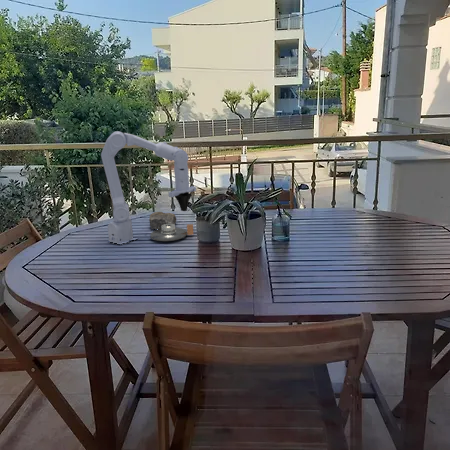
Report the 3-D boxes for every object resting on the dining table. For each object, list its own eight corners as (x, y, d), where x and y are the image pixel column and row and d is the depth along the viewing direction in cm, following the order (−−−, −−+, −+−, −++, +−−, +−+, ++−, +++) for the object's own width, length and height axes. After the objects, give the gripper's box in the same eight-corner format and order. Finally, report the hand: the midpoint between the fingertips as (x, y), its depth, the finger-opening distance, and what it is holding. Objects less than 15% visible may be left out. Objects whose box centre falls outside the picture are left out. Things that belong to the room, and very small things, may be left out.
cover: (176, 234, 164) (175, 227, 163) (160, 235, 163) (160, 228, 162) (176, 229, 170) (175, 222, 169) (161, 230, 169) (161, 223, 168)
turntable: (193, 239, 160) (193, 229, 159) (149, 242, 159) (148, 232, 158) (193, 228, 175) (192, 219, 173) (152, 231, 173) (151, 222, 172)
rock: (173, 231, 177) (178, 222, 192) (172, 217, 175) (177, 209, 190) (145, 231, 178) (152, 223, 192) (144, 217, 176) (151, 209, 190)
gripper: (176, 182, 157) (178, 215, 161) (200, 176, 168) (202, 208, 172) (163, 181, 161) (166, 213, 165) (188, 175, 172) (190, 206, 176)
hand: (184, 210), depth 169 cm, fingers closed
